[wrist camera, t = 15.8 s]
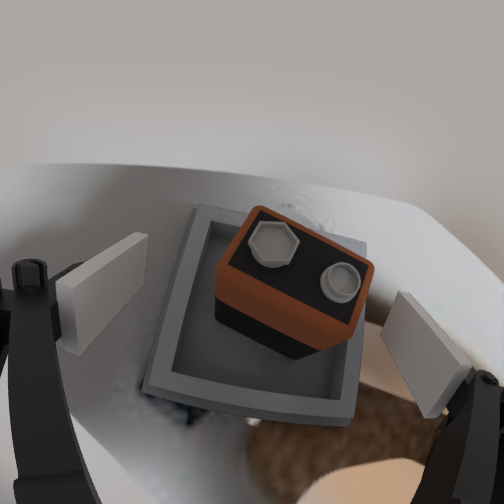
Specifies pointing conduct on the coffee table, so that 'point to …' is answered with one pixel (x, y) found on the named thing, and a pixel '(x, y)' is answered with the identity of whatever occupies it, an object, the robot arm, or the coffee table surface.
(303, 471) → the coffee table surface
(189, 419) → the coffee table surface
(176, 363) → the charging dock
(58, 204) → the coffee table surface
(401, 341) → the robot arm
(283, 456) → the coffee table surface
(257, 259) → the battery
